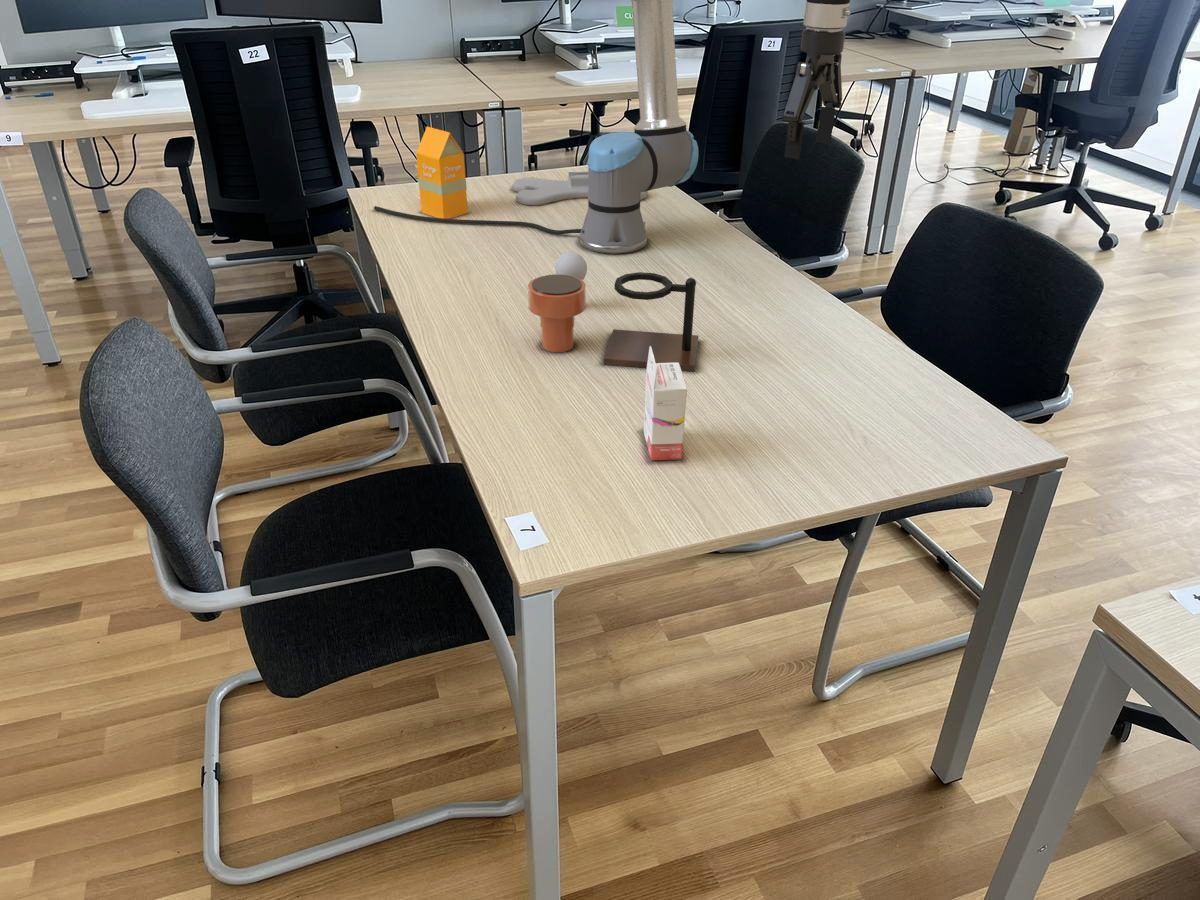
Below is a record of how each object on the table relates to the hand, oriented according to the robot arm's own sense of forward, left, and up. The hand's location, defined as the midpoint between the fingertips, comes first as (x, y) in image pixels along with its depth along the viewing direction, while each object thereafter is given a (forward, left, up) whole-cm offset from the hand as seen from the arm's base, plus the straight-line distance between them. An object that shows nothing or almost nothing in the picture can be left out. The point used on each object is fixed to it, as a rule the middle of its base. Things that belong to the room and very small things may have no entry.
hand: (807, 150), depth 175 cm
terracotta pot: (-19, -52, -28) cm, 61 cm away
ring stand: (-4, -43, -26) cm, 51 cm away
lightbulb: (-28, -37, -28) cm, 54 cm away
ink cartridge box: (+15, -67, -28) cm, 74 cm away
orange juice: (-89, -13, -28) cm, 94 cm away
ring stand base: (-4, -43, -27) cm, 51 cm away
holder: (-74, +21, -28) cm, 81 cm away
